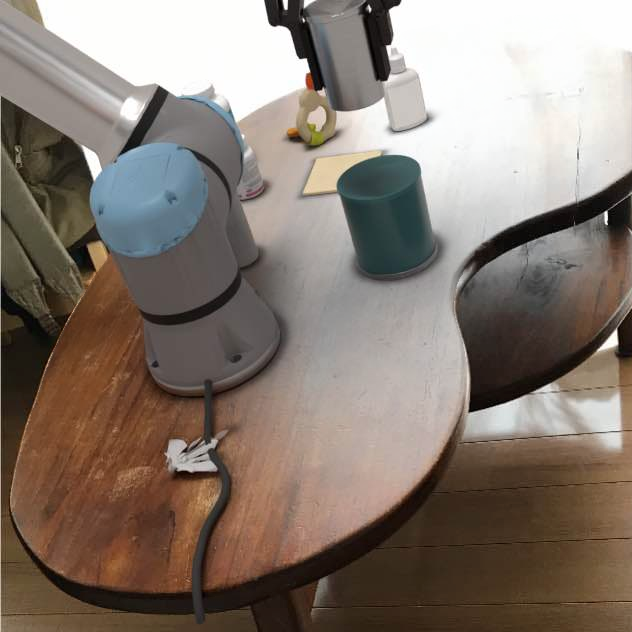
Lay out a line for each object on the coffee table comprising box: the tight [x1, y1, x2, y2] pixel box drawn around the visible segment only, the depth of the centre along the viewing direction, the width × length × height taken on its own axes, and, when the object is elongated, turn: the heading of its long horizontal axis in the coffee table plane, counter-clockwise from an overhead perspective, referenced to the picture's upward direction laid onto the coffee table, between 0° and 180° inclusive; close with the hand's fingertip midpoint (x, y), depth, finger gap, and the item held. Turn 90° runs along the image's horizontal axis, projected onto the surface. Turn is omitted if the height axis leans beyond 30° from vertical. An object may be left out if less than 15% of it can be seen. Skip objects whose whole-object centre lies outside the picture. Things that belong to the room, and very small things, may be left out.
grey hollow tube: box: [226, 191, 260, 269], centre depth 111 cm, size 4×4×10 cm
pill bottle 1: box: [181, 79, 237, 124], centre depth 131 cm, size 8×7×14 cm
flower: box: [164, 429, 229, 476], centre depth 87 cm, size 8×8×3 cm
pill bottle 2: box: [236, 133, 265, 201], centre depth 125 cm, size 5×5×8 cm
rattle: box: [285, 71, 338, 146], centre depth 133 cm, size 8×8×12 cm
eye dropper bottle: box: [383, 45, 428, 132], centre depth 129 cm, size 4×6×12 cm
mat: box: [302, 149, 383, 197], centre depth 125 cm, size 10×10×1 cm
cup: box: [302, 0, 386, 113], centre depth 90 cm, size 7×7×10 cm
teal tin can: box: [337, 154, 439, 281], centre depth 103 cm, size 10×10×11 cm
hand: (353, 80), depth 92 cm, fingers closed on cup, 6 cm apart
